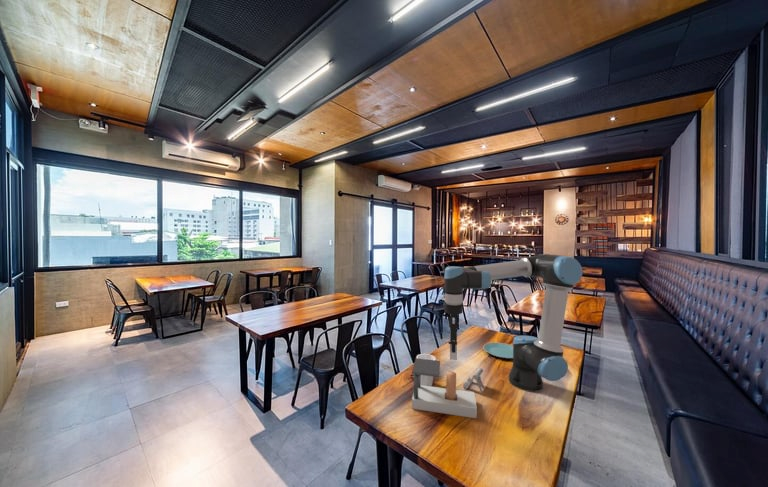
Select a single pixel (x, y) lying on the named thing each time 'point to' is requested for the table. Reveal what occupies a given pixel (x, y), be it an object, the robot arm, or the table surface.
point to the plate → (499, 350)
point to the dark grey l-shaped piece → (424, 372)
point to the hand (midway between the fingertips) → (453, 352)
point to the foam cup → (424, 379)
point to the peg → (451, 386)
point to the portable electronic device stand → (478, 379)
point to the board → (445, 402)
